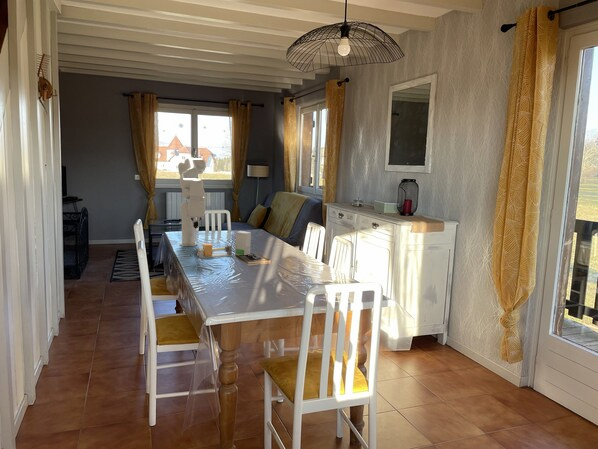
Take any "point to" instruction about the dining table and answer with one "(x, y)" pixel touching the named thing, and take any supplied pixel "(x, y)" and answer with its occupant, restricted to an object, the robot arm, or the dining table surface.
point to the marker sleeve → (207, 249)
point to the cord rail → (226, 249)
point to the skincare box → (242, 243)
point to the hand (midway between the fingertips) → (196, 227)
